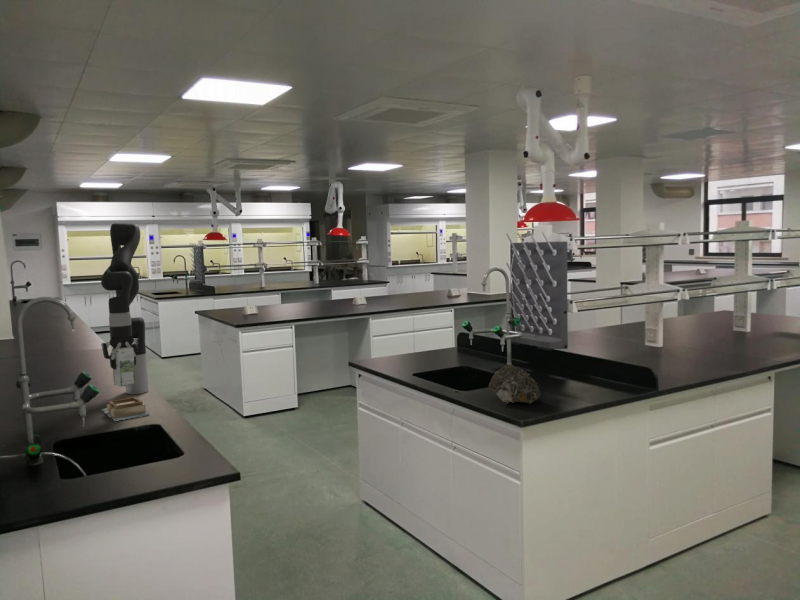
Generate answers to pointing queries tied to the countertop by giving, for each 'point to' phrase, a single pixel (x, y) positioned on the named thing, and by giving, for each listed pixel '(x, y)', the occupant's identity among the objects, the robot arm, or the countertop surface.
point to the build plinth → (125, 409)
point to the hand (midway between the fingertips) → (123, 367)
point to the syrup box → (124, 367)
